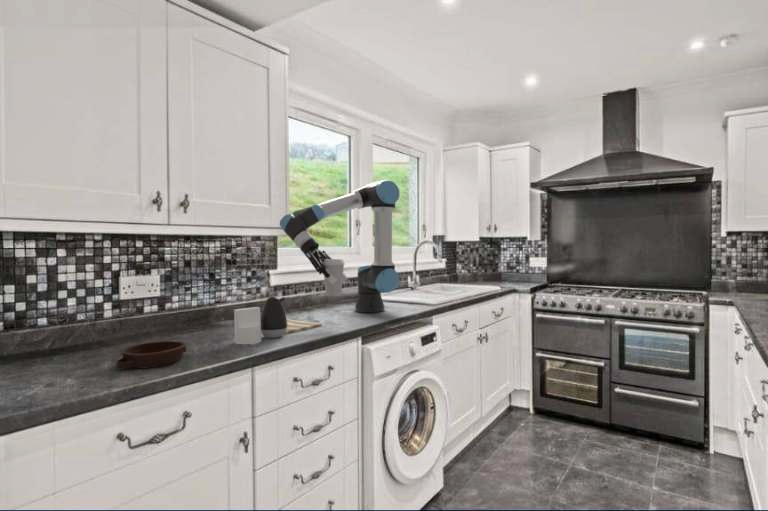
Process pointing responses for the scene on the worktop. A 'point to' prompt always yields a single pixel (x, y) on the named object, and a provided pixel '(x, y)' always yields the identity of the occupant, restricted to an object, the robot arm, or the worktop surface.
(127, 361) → the dish
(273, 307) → the dark egg shaped speaker
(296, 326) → the birch board
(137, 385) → the worktop surface
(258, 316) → the grey square canister
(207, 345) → the worktop surface
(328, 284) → the coffee cup
